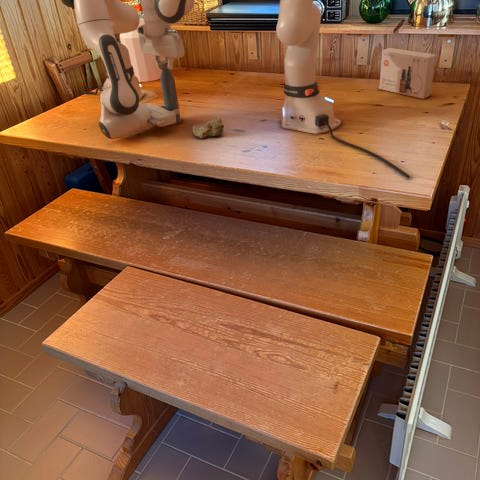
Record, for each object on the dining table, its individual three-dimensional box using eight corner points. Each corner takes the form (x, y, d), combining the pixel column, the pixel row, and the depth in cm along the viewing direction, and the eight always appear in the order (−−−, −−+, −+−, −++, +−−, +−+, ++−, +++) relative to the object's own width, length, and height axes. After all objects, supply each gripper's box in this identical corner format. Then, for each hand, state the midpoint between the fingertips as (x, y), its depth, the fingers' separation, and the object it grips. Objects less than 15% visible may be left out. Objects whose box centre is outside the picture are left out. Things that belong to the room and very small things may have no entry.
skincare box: (377, 89, 194) (381, 50, 185) (385, 86, 197) (389, 47, 188) (423, 99, 180) (429, 56, 171) (430, 95, 183) (437, 53, 174)
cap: (173, 66, 172) (172, 60, 171) (167, 69, 169) (166, 63, 168) (162, 66, 174) (161, 60, 172) (157, 69, 170) (156, 63, 169)
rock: (192, 135, 173) (196, 140, 164) (189, 118, 170) (194, 122, 161) (220, 130, 175) (226, 135, 166) (218, 113, 172) (223, 117, 163)
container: (160, 81, 233) (149, 21, 217) (121, 82, 238) (108, 23, 222) (174, 69, 249) (165, 13, 233) (138, 70, 254) (126, 15, 238)
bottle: (172, 119, 186) (163, 61, 174) (184, 120, 184) (174, 62, 171) (164, 123, 182) (154, 65, 170) (175, 125, 180) (165, 66, 167)
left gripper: (154, 116, 165) (186, 106, 172) (129, 104, 179) (160, 95, 186) (157, 133, 169) (189, 122, 175) (132, 120, 183) (162, 110, 189)
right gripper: (185, 27, 160) (190, 68, 167) (146, 24, 171) (153, 63, 179) (172, 31, 156) (178, 73, 164) (133, 28, 167) (141, 67, 175)
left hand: (174, 108), depth 181 cm, fingers closed on bottle, 5 cm apart
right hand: (165, 68), depth 171 cm, fingers closed on cap, 4 cm apart
